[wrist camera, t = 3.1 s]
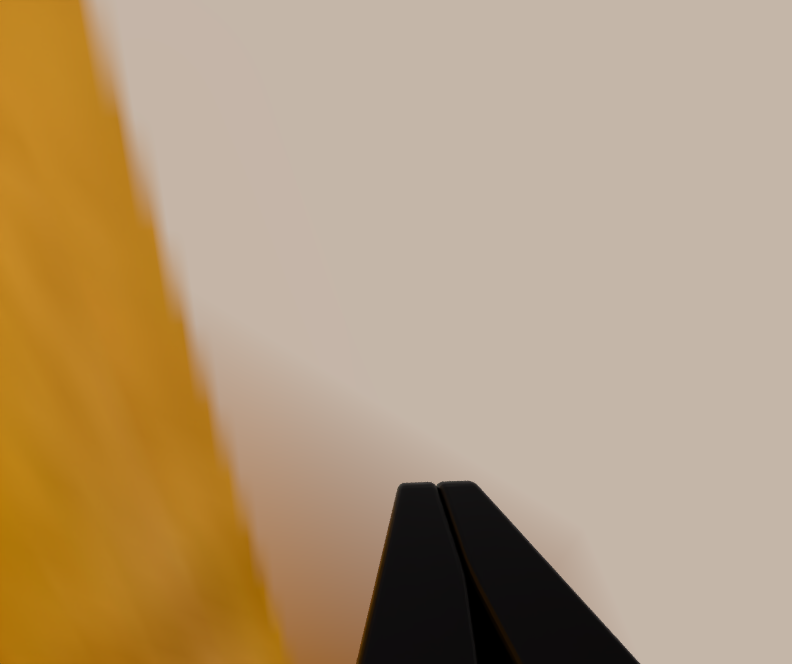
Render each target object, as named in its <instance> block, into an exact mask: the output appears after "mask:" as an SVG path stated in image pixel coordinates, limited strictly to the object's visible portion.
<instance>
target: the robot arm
mask: <svg viewBox="0 0 792 664" xmlns="http://www.w3.org/2000/svg"><path fill="white" fill-rule="evenodd" d="M356 664H640V663H639V662H638V661H637V660H636V659H635V658H634V657H633V656H632V654H631V653H630V652H629V651H628V650H627V649H626V648H625V647H624V646H623V645H622V643H621V642H620V641H619V640H618V639H617V638H616V637H615V636H614V635H613V634H612V633H611V631H610V630H609V629H608V628H607V627H606V626H605V625H604V624H603V622H602V621H601V620H600V619H599V618H598V617H597V616H596V615H595V614H594V613H593V612H592V610H591V609H590V608H589V607H588V606H587V605H586V604H585V603H584V602H583V600H582V599H581V598H580V597H579V596H578V595H577V594H576V593H575V592H574V591H573V590H572V589H571V587H570V586H569V585H568V584H567V583H566V582H565V581H564V580H563V579H562V577H561V576H560V575H559V574H558V573H557V572H556V571H555V570H554V569H553V568H552V566H551V565H550V564H549V563H548V562H547V561H546V560H545V559H544V558H543V557H542V555H541V554H540V553H539V552H538V551H537V550H536V549H535V548H534V547H533V546H532V544H531V543H529V541H528V540H527V539H526V538H525V537H524V536H523V535H522V533H521V532H520V531H519V530H518V529H517V528H516V527H515V526H514V525H513V524H512V522H511V521H510V520H509V519H508V518H507V517H506V516H505V515H504V514H503V513H502V512H501V510H500V509H499V508H498V507H497V506H496V505H495V504H494V503H493V502H492V501H491V499H490V498H489V497H488V496H487V495H486V494H485V493H484V492H483V491H482V490H481V488H480V487H479V486H478V485H477V484H475V483H474V482H471V481H447V482H440V483H439V484H437V486H435V484H433V483H431V482H418V483H402V484H400V486H399V487H398V489H397V493H396V497H395V502H394V506H393V510H392V514H391V519H390V523H389V527H388V531H387V535H386V540H385V544H384V548H383V552H382V556H381V561H380V565H379V569H378V573H377V577H376V582H375V586H374V590H373V595H372V599H371V603H370V607H369V611H368V615H367V620H366V624H365V628H364V633H363V637H362V641H361V645H360V650H359V654H358V658H357V662H356Z"/></svg>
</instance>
